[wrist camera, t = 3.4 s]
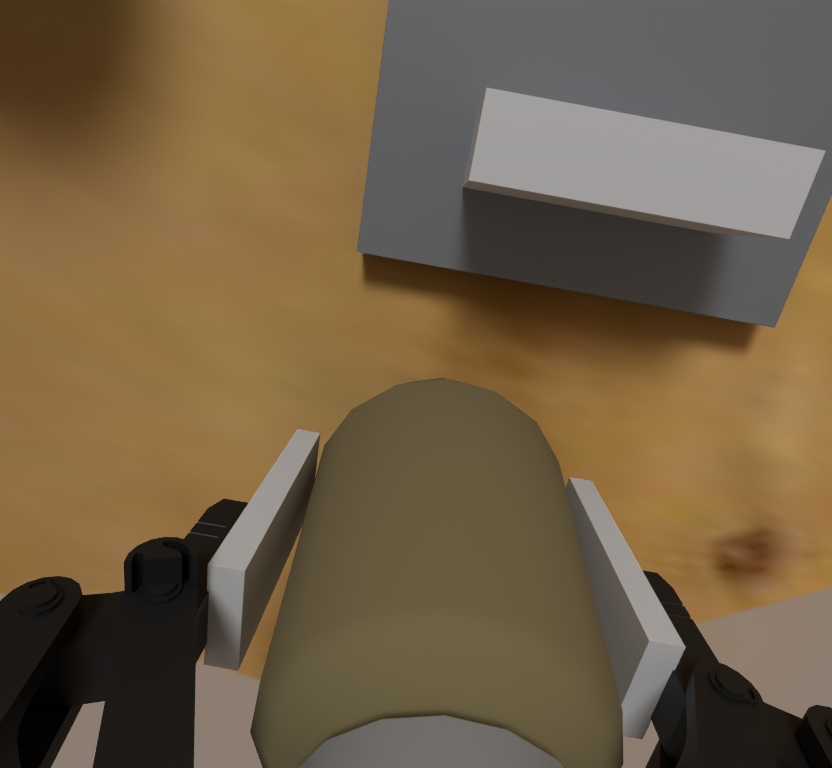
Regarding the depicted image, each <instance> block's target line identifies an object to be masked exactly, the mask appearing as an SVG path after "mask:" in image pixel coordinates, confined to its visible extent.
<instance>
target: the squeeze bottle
mask: <svg viewBox="0 0 832 768" xmlns="http://www.w3.org/2000/svg"><path fill="white" fill-rule="evenodd" d="M250 733H251V736H252V738H253V741H254V744H255V747H256V750H257V753H258V756H259V758H260V761H261V764H262V767H263V768H621V767H622V765H623V711H622V707H621V703H620V699H619V695H618V691H617V687H616V683H615V680H614V676H613V672H612V668H611V664H610V660H609V656H608V652H607V648H606V644H605V641H604V637H603V633H602V629H601V625H600V621H599V617H598V613H597V609H596V605H595V602H594V598H593V594H592V590H591V586H590V582H589V578H588V574H587V570H586V566H585V563H584V559H583V555H582V551H581V547H580V543H579V539H578V535H577V531H576V527H575V524H574V520H573V516H572V512H571V508H570V504H569V500H568V496H567V492H566V488H565V484H564V481H563V477H562V473H561V469H560V465H559V462H558V460H557V458H556V456H555V454H554V453H553V451H552V449H551V447H550V445H549V444H548V442H547V440H546V438H545V436H544V435H543V433H542V431H541V429H540V427H539V426H538V424H537V422H536V421H534V420H533V419H532V418H530V417H529V416H528V415H526V414H525V413H524V412H522V411H521V410H520V409H518V408H517V407H516V406H514V405H513V404H512V403H510V402H509V401H507V400H506V399H505V398H503V397H502V396H501V395H499V394H498V393H496V392H493V391H490V390H486V389H483V388H479V387H476V386H472V385H468V384H465V383H461V382H457V381H453V380H449V379H445V378H439V379H431V380H423V381H415V382H410V383H405V384H401V385H397V386H394V387H392V388H390V389H388V390H387V391H385V392H383V393H381V394H379V395H378V396H376V397H374V398H372V399H370V400H368V401H367V402H365V403H363V404H361V405H359V406H358V407H356V408H354V409H352V410H351V411H350V413H349V414H348V415H347V417H346V418H345V419H344V421H343V422H342V423H341V424H340V426H339V427H338V428H337V430H336V431H335V432H334V434H333V435H332V436H331V438H330V439H329V440H328V441H327V443H326V444H325V445H324V449H323V452H322V456H321V460H320V463H319V467H318V471H317V474H316V478H315V482H314V485H313V489H312V493H311V497H310V500H309V504H308V508H307V511H306V515H305V519H304V522H303V526H302V530H301V533H300V537H299V541H298V545H297V548H296V552H295V556H294V559H293V563H292V567H291V570H290V574H289V578H288V581H287V585H286V589H285V593H284V596H283V600H282V604H281V607H280V611H279V615H278V618H277V622H276V626H275V630H274V633H273V637H272V641H271V644H270V648H269V652H268V655H267V659H266V663H265V666H264V670H263V674H262V678H261V681H260V686H259V692H258V697H257V702H256V707H255V712H254V716H253V721H252V726H251V732H250Z"/></svg>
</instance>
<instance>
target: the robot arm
mask: <svg viewBox="0 0 832 768" xmlns="http://www.w3.org/2000/svg"><path fill="white" fill-rule="evenodd" d="M319 439H320V433H317V432H311V431H305V430H300V429H297V430H296V432H295V433H294V435H293V436H292V438H291V440H290V441H289V443H288V444H287V446H286V447H285V449H284V450H283V452H282V453H281V455H280V456H279V458H278V459H277V461H276V462H275V464H274V465H273V467H272V468H271V470H270V471H269V473H268V474H267V476H266V477H265V479H264V480H263V482H262V483H261V485H260V486H259V488H258V489H257V491H256V492H255V494H254V495H253V497H252V498H251V500H250V501H249V503H246V502H240V501H234V500H229V499H223V500H221V501H219V502H218V503H216V504H214V505H213V506H211V507H209V508H208V509H207V510H206V512H205V513H204V514H203V515H202V517H201V518H200V519H199V520H198V523H196V524H195V526H194V527H193V528H192V529H191V531H190V534H189V533H188V534H187V536H186V537H185V538H184V539H181V538H178V537H163V538H158V539H153V540H149V541H147V542H145V543H143V544H140V545H138V546H137V547H136V548H134V549H133V550H132V551H131V552H130V553H128V555H127V557H126V559H125V561H124V581H125V591H121V592H114V593H105V594H92V595H82V591H81V588H80V584H79V583H77V582H76V581H74V580H73V579H71V578H66V577H61V576H55V577H44V578H40V579H37V580H34V581H30V582H27V583H25V584H23V585H21V586H19V587H18V588H16V589H14V590H12V591H11V592H10V593H9V594H8V595H6V596H5V597H4V598H3V599H2V600H1V601H0V768H51V766H52V764H53V762H54V760H55V758H56V756H57V754H58V752H59V750H60V748H61V746H62V744H63V742H64V741H65V739H66V737H67V735H68V733H69V731H70V729H71V727H72V725H73V723H74V721H75V719H76V717H77V715H78V713H79V711H80V709H81V707H82V705H83V704H87V703H94V702H101V701H105V705H104V710H103V716H102V721H101V726H100V732H99V737H98V742H97V747H96V753H95V758H94V763H93V768H194V718H195V717H194V715H195V666H196V662H197V660H198V659H199V657H200V655H201V653H202V651H203V649H204V648H205V656H204V664H205V665H210V666H216V667H222V668H228V669H234V670H239V667H240V665H241V663H242V661H243V658H244V656H245V654H246V652H247V649H248V647H249V645H250V643H251V640H252V638H253V636H254V634H255V631H256V629H257V627H258V624H259V622H260V620H261V618H262V615H263V613H264V611H265V609H266V606H267V604H268V602H269V600H270V597H271V595H272V593H273V591H274V588H275V586H276V584H277V581H278V579H279V577H280V575H281V572H282V570H283V568H284V566H285V563H286V561H287V559H288V557H289V554H290V552H291V550H292V548H293V545H294V543H295V541H296V538H297V536H298V534H299V532H300V529H301V527H302V525H303V522H304V519H305V515H306V511H307V508H308V504H309V500H310V497H311V493H312V489H313V485H314V482H315V473H316V465H317V456H318V448H319ZM566 492H567V496H568V500H569V504H570V508H571V512H572V516H573V520H574V524H575V527H576V531H577V535H578V539H579V543H580V547H581V551H582V555H583V559H584V563H585V566H586V570H587V574H588V578H589V582H590V586H591V590H592V594H593V598H594V602H595V605H596V609H597V613H598V617H599V621H600V625H601V629H602V633H603V637H604V641H605V644H606V648H607V652H608V656H609V660H610V664H611V668H612V672H613V676H614V680H615V683H616V687H617V691H618V695H619V699H620V703H621V707H622V711H623V736H627V737H633V738H639V739H643V737H644V735H645V732H646V731H647V728H648V726H649V724H650V722H651V720H652V722H653V725H654V727H655V729H656V732H657V734H658V737H659V741H658V743H657V745H656V747H655V749H654V751H653V753H652V755H651V757H650V759H649V762H648V763H647V765H646V768H832V708H830V707H825V706H820V705H815V706H812V707H810V708H808V710H807V712H806V713H805V715H804V717H803V718H802V719H801V718H799V717H797V716H794V715H792V714H790V713H787V712H785V711H783V710H780V709H778V708H776V707H773V706H771V705H769V704H766V703H764V702H763V701H762V698H761V696H760V694H759V692H758V691H757V690H756V689H755V688H754V686H753V685H752V684H751V683H750V682H749V681H748V680H747V679H746V678H744V677H743V676H742V675H741V674H740V673H738V672H737V671H735V670H733V669H732V668H730V667H728V666H726V665H724V664H721V663H719V662H718V660H717V658H716V657H715V655H714V654H713V652H712V650H711V649H710V647H709V645H708V644H707V642H706V641H705V639H704V638H703V636H702V634H701V633H700V631H699V629H698V628H697V626H696V624H695V623H694V621H693V620H692V619H690V615H689V613H688V612H687V610H686V608H685V607H684V606H682V602H681V600H680V599H679V597H678V595H677V594H676V592H675V591H674V589H673V588H672V587H671V586H670V585H669V584H668V583H667V582H666V581H665V580H664V579H663V578H662V577H661V576H660V575H659V574H658V573H654V572H648V571H642V569H641V567H640V566H639V564H638V562H637V560H636V558H635V557H634V555H633V553H632V551H631V550H630V548H629V546H628V544H627V542H626V541H625V539H624V537H623V535H622V534H621V532H620V530H619V528H618V527H617V525H616V523H615V521H614V519H613V518H612V516H611V514H610V512H609V511H608V509H607V507H606V505H605V504H604V502H603V500H602V498H601V496H600V495H599V493H598V491H597V489H596V488H595V486H594V484H593V482H592V481H588V480H583V479H577V478H571V477H569V480H568V483H567V486H566Z"/></svg>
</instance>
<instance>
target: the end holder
mask: <svg viewBox="0 0 832 768" xmlns="http://www.w3.org/2000/svg"><path fill="white" fill-rule="evenodd" d="M831 195H832V0H389V5H388V12H387V20H386V28H385V36H384V44H383V52H382V59H381V67H380V75H379V83H378V91H377V99H376V106H375V114H374V122H373V130H372V138H371V146H370V154H369V161H368V169H367V177H366V185H365V193H364V201H363V208H362V216H361V224H360V232H359V240H358V248H357V252H360V253H366V254H371V255H377V256H382V257H388V258H393V259H399V260H404V261H410V262H415V263H421V264H426V265H432V266H437V267H443V268H449V269H454V270H460V271H465V272H471V273H476V274H482V275H487V276H493V277H498V278H504V279H509V280H515V281H520V282H526V283H531V284H537V285H542V286H548V287H553V288H559V289H564V290H570V291H575V292H581V293H586V294H592V295H597V296H603V297H608V298H614V299H619V300H625V301H630V302H636V303H641V304H647V305H652V306H658V307H663V308H669V309H674V310H680V311H685V312H691V313H696V314H702V315H707V316H713V317H718V318H724V319H729V320H735V321H740V322H746V323H751V324H757V325H762V326H768V327H773V328H775V326H776V324H777V321H778V319H779V316H780V314H781V312H782V309H783V307H784V305H785V302H786V300H787V298H788V295H789V293H790V291H791V288H792V286H793V284H794V281H795V279H796V277H797V274H798V272H799V270H800V267H801V265H802V263H803V260H804V258H805V256H806V253H807V251H808V249H809V246H810V244H811V242H812V239H813V237H814V235H815V232H816V230H817V228H818V225H819V223H820V221H821V218H822V216H823V214H824V211H825V209H826V207H827V204H828V202H829V200H830V197H831Z"/></svg>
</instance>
